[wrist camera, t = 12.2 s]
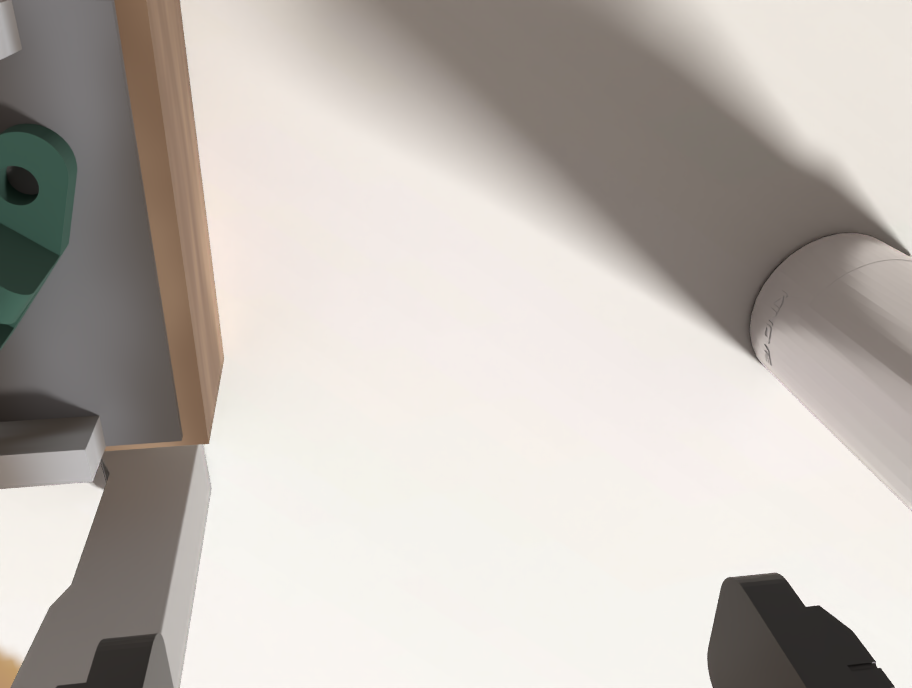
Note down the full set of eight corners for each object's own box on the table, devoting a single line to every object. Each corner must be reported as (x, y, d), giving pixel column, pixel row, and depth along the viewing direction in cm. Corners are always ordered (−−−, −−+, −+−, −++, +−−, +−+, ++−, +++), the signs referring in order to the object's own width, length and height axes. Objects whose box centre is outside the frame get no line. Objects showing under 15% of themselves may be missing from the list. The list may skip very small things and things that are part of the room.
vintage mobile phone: (102, 438, 42) (-111, 992, 21) (201, 428, 43) (97, 954, 21) (117, 495, 44) (-65, 1063, 22) (212, 485, 45) (126, 1026, 23)
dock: (175, -32, 33) (127, -11, 24) (223, 359, 42) (201, 483, 32) (-209, -37, 31) (-420, -17, 22) (-77, 376, 39) (-191, 515, 30)
